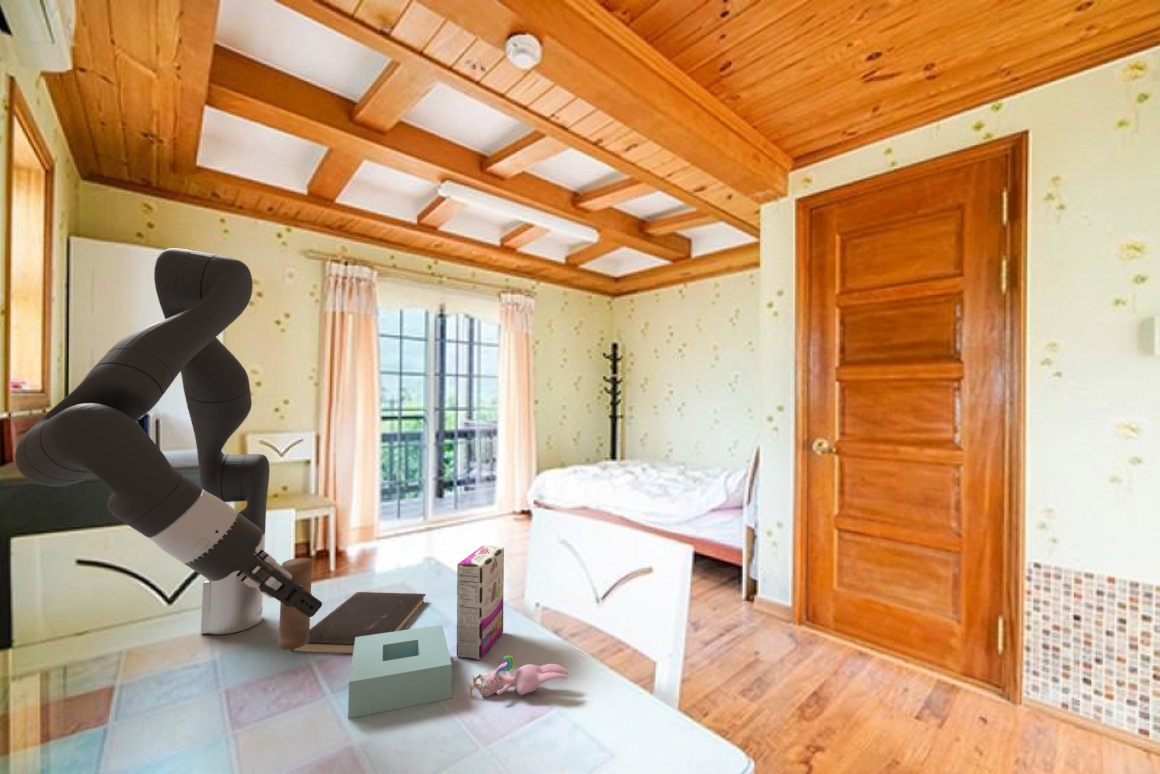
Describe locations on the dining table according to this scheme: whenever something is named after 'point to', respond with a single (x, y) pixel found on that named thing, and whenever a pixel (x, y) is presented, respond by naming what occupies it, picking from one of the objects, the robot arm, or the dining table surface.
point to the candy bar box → (479, 601)
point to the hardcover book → (361, 620)
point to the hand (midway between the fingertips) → (310, 605)
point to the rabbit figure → (517, 678)
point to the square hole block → (399, 670)
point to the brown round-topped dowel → (292, 619)
